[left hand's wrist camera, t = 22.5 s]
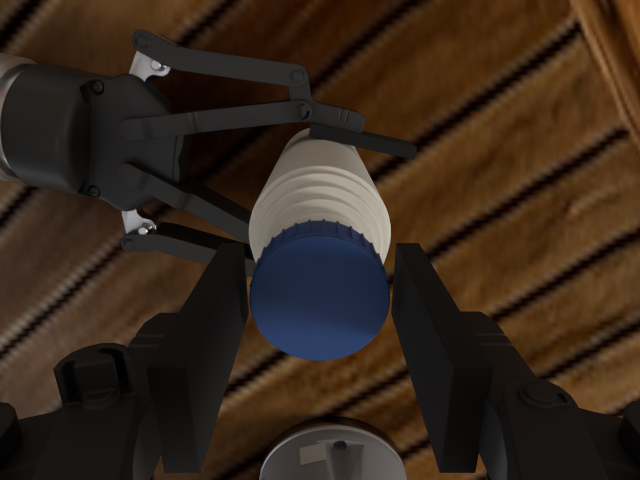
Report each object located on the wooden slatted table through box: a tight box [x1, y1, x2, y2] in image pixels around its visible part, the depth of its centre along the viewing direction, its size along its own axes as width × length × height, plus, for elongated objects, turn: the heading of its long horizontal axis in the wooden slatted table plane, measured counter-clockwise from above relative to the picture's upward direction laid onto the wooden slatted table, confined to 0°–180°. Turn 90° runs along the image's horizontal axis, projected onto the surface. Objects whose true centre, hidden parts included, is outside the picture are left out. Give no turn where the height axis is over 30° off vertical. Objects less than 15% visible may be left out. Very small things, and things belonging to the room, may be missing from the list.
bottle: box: [249, 128, 391, 263], centre depth 24 cm, size 6×6×21 cm
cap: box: [250, 219, 390, 361], centre depth 14 cm, size 4×4×2 cm
